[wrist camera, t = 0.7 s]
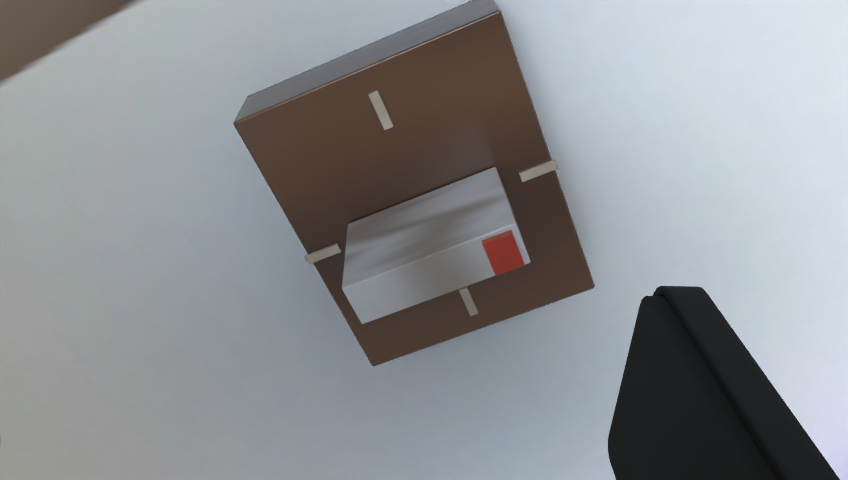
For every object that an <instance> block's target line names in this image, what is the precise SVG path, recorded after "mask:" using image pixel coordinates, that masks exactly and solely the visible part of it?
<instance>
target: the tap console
mask: <svg viewBox="0 0 848 480" xmlns="http://www.w3.org/2000/svg"><path fill="white" fill-rule="evenodd" d="M234 126H235V128H236V129H237V131H238V133H239V135H240V136H241V138H242V140H243V142H244V143H245V145H246V147H247V149H248V150H249V152H250V154H251V155H252V157H253V159H254V161H255V162H256V164H257V166H258V168H259V169H260V171H261V173H262V175H263V176H264V178H265V180H266V182H267V183H268V185H269V187H270V189H271V190H272V192H273V194H274V196H275V197H276V199H277V201H278V202H279V204H280V206H281V208H282V209H283V211H284V213H285V215H286V216H287V218H288V220H289V222H290V223H291V225H292V227H293V229H294V230H295V232H296V234H297V236H298V237H299V239H300V241H301V243H302V244H303V246H304V248H305V250H306V251H307V253H308V254H307V255H305V258H306V260H307V262H308V264H311V263H314V265H315V267H316V269H317V270H318V272H319V274H320V276H321V277H322V279H323V281H324V283H325V284H326V286H327V288H328V290H329V291H330V293H331V295H332V297H333V298H334V300H335V302H336V303H337V305H338V307H339V309H340V310H341V312H342V314H343V316H344V317H345V319H346V321H347V323H348V324H349V326H350V328H351V330H352V331H353V333H354V335H355V337H356V338H357V340H358V342H359V344H360V345H361V347H362V349H363V350H364V352H365V354H366V356H367V357H368V359H369V361H370V363H371V364H372V366H376V365H379V364H382V363H385V362H388V361H390V360H393V359H396V358H399V357H402V356H404V355H407V354H410V353H413V352H416V351H418V350H421V349H424V348H427V347H430V346H432V345H435V344H438V343H441V342H444V341H446V340H449V339H452V338H455V337H458V336H460V335H463V334H466V333H469V332H472V331H474V330H477V329H480V328H483V327H486V326H489V325H491V324H494V323H497V322H500V321H503V320H505V319H508V318H511V317H514V316H517V315H519V314H522V313H525V312H528V311H531V310H533V309H536V308H539V307H542V306H545V305H547V304H550V303H553V302H556V301H559V300H561V299H564V298H567V297H570V296H573V295H575V294H578V293H581V292H584V291H587V290H589V289H592V288H594V287H595V285H594V282H593V279H592V276H591V273H590V270H589V267H588V264H587V261H586V258H585V255H584V252H583V250H582V247H581V244H580V241H579V238H578V235H577V232H576V229H575V226H574V223H573V220H572V217H571V214H570V212H569V209H568V206H567V203H566V200H565V197H564V194H563V191H562V188H561V185H560V182H559V179H558V177H557V174H556V171H555V169H558V167H557V164H556V161H555V159H553V160H552V159H551V156H550V153H549V150H548V147H547V144H546V142H545V139H544V136H543V133H542V130H541V127H540V124H539V121H538V118H537V115H536V112H535V109H534V106H533V104H532V101H531V98H530V95H529V92H528V89H527V86H526V83H525V80H524V77H523V74H522V71H521V69H520V66H519V63H518V60H517V57H516V54H515V51H514V48H513V45H512V42H511V39H510V36H509V33H508V31H507V28H506V25H505V22H504V19H503V16H502V13H501V11H500V9H499V8H498V7H497V5H496V4H495V2H494V1H493V0H472V1H469V2H467V3H465V4H462V5H460V6H458V7H455V8H453V9H451V10H448V11H446V12H444V13H441V14H439V15H437V16H434V17H432V18H430V19H427V20H425V21H423V22H420V23H418V24H416V25H413V26H411V27H409V28H406V29H404V30H402V31H399V32H397V33H395V34H392V35H390V36H388V37H385V38H383V39H381V40H378V41H376V42H374V43H371V44H369V45H367V46H364V47H362V48H360V49H357V50H355V51H353V52H350V53H348V54H346V55H343V56H341V57H339V58H336V59H334V60H332V61H329V62H327V63H325V64H322V65H320V66H318V67H315V68H313V69H311V70H308V71H306V72H304V73H301V74H299V75H297V76H294V77H292V78H290V79H287V80H285V81H283V82H280V83H278V84H276V85H273V86H271V87H269V88H266V89H264V90H262V91H259V92H257V93H255V94H252V95H250V96H248V97H247V98H246V100H245V102H244V104H243V106H242V108H241V110H240V111H239V113H238V115H237V117H236V119H235V121H234ZM493 167H496V168H497V171H498V173H499V176H500V179H501V181H502V184H503V186H504V189H505V191H506V194H507V197H508V199H509V202H510V205H511V208H512V210H513V213H514V216H515V219H516V222H517V225H518V227H519V230H520V233H521V236H522V239H523V242H524V244H525V247H526V250H527V253H528V256H529V259H530V263H528V264H525V265H524V266H521V267H519V268H516V269H513V270H510V271H508V272H505V273H502V274H500V275H497V276H496V275H495V276H493V277H490V278H487V279H484V280H482V281H479V282H476V283H473V284H471V285H468V286H465V287H463V288H460V289H457V290H454V291H452V292H449V293H446V294H443V295H441V296H438V297H435V298H433V299H430V300H427V301H424V302H422V303H419V304H416V305H414V306H411V307H408V308H405V309H403V310H400V311H397V312H394V313H392V314H389V315H386V316H384V317H381V318H378V319H375V320H373V321H370V322H367V323H364V324H362V323H361V322H360V320H359V318H358V316H357V315H356V313H355V311H354V309H353V308H352V306H351V304H350V302H349V300H348V299H347V297H346V295H345V293H344V292H343V290H342V283H343V272H344V261H345V250H346V239H347V228H348V224H349V223H352V222H355V221H357V220H360V219H362V218H365V217H367V216H370V215H373V214H375V213H378V212H380V211H383V210H385V209H388V208H390V207H393V206H396V205H398V204H401V203H403V202H406V201H408V200H411V199H414V198H416V197H419V196H421V195H424V194H426V193H429V192H432V191H434V190H437V189H439V188H442V187H444V186H447V185H449V184H452V183H455V182H457V181H460V180H462V179H465V178H467V177H470V176H473V175H475V174H478V173H480V172H483V171H485V170H488V169H490V168H493Z"/></svg>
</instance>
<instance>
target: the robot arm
mask: <svg viewBox="0 0 848 480" xmlns="http://www.w3.org/2000/svg"><path fill="white" fill-rule="evenodd" d="M608 453H609V459H610V463H611V466H612V468H613V471H614V474H615V477H616V480H840V479H839V478H838V476H837V475H836V474H835V472H834V471H833V469H832V468H831V467H830V465H829V464H828V462H827V461H826V460H825V458H824V457H823V455H822V454H821V453H820V451H819V450H818V448H817V447H816V446H815V444H814V443H813V441H812V440H811V439H810V437H809V436H808V434H807V433H806V432H805V430H804V429H803V427H802V426H801V425H800V423H799V422H798V420H797V419H796V418H795V416H794V415H793V413H792V412H791V410H790V409H789V408H788V406H787V405H786V403H785V402H784V401H783V399H782V398H781V396H780V395H779V394H778V392H777V391H776V389H775V388H774V387H773V385H772V384H771V382H770V381H769V380H768V378H767V377H766V375H765V374H764V373H763V371H762V370H761V368H760V367H759V366H758V364H757V363H756V361H755V360H754V359H753V357H752V356H751V354H750V353H749V352H748V350H747V349H746V347H745V346H744V345H743V343H742V342H741V340H740V339H739V338H738V336H737V335H736V333H735V332H734V331H733V329H732V328H731V326H730V325H729V324H728V322H727V321H726V319H725V318H724V316H723V315H722V314H721V312H720V311H719V309H718V308H717V307H716V305H715V304H714V302H713V301H712V300H711V298H710V297H709V295H708V294H707V293H706V291H705V290H704V289H703V288H701V287H685V286H660V287H658V288H657V289H656V290H655V292H654V294H653V296H645V297H644V298H643V299H642V301H641V304H640V307H639V311H638V315H637V320H636V324H635V328H634V332H633V336H632V340H631V345H630V349H629V353H628V357H627V361H626V366H625V370H624V374H623V378H622V382H621V386H620V391H619V395H618V399H617V403H616V407H615V411H614V416H613V420H612V424H611V428H610V432H609V438H608Z"/></svg>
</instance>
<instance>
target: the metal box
mask: <svg viewBox="0 0 848 480" xmlns="http://www.w3.org/2000/svg"><path fill="white" fill-rule="evenodd" d="M528 263H530V259H529V256H528V253H527V250H526V247H525V244H524V242H523V239H522V236H521V233H520V230H519V227H518V225H517V222H516V219H515V216H514V213H513V210H512V208H511V205H510V202H509V199H508V197H507V194H506V191H505V189H504V186H503V184H502V181H501V179H500V176H499V173H498V171H497V168H496V167H493V168H490V169H488V170H485V171H483V172H480V173H478V174H475V175H473V176H470V177H467V178H465V179H462V180H460V181H457V182H455V183H452V184H449V185H447V186H444V187H442V188H439V189H437V190H434V191H432V192H429V193H426V194H424V195H421V196H419V197H416V198H414V199H411V200H408V201H406V202H403V203H401V204H398V205H396V206H393V207H390V208H388V209H385V210H383V211H380V212H378V213H375V214H373V215H370V216H367V217H365V218H362V219H360V220H357V221H355V222H352V223H349V224H348V228H347V239H346V250H345V261H344V272H343V283H342V290H343V292H344V293H345V295H346V297H347V299H348V300H349V302H350V304H351V306H352V308H353V309H354V311H355V313H356V315H357V316H358V318H359V320H360V322H361V323H362V324H364V323H367V322H370V321H373V320H375V319H378V318H381V317H384V316H386V315H389V314H392V313H394V312H397V311H400V310H403V309H405V308H408V307H411V306H414V305H416V304H419V303H422V302H424V301H427V300H430V299H433V298H435V297H438V296H441V295H443V294H446V293H449V292H452V291H454V290H457V289H460V288H463V287H465V286H468V285H471V284H473V283H476V282H479V281H482V280H484V279H487V278H490V277H493V276H495V275H496V276H497V275H500V274H502V273H505V272H508V271H510V270H513V269H516V268H519V267H521V266H524V265H525V264H528Z"/></svg>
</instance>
